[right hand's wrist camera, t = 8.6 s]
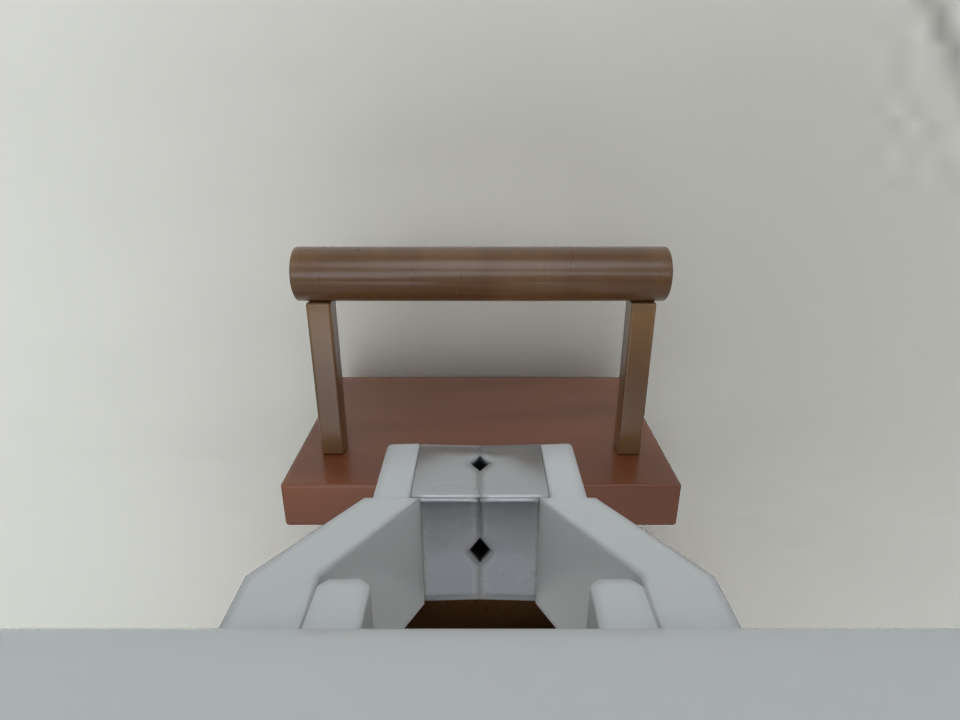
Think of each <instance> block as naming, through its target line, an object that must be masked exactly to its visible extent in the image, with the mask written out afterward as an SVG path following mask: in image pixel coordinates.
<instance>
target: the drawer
mask: <svg viewBox="0 0 960 720" xmlns="http://www.w3.org/2000/svg"><path fill="white" fill-rule="evenodd" d="M289 276H290V284H291V289H292V292H293V295H294V297H295V298H296V299H297V300H299V301H308V302H307V304H306V309H307V318H308V328H309V337H310V346H311V355H312V364H313V373H314V382H315V391H316V400H317V410H318V418H317V420H316V422H315V424H314V426H313V428H312V429H311V431H310V433H309V435H308V437H307V439H306V440H305V442H304V444H303V446H302V448H301V449H300V451H299V453H298V455H297V457H296V459H295V460H294V462H293V464H292V466H291V468H290V470H289V471H288V473H287V475H286V477H285V479H284V481H283V482H282V485H281V489H282V496H283V503H284V510H285V517H286V523H287V524H288V525H324V524H326V523H327V522H329V521H330V520H332V519H333V518H335V517H336V516H338V515H339V514H341V513H342V512H344V511H345V510H347V509H348V508H350V507H351V506H353V505H354V504H356V503H357V502H359V501H360V500H362V499H363V498H373V496H374V493H375V489H376V486H377V482H378V479H379V475H380V472H381V468H382V465H383V461H384V458H385V454H386V451H387V447H388V446H389V445H391V444H419V445H421V444H433V445H480V446H488V445H530V444H540V445H546V444H570V445H572V448H573V451H574V455H575V458H576V462H577V465H578V469H579V472H580V475H581V479H582V482H583V486H584V489H585V493H586V496H587V498H597V499H598V500H600V501H601V502H603V503H604V504H606V505H607V506H609V507H610V508H612V509H613V510H615V511H616V512H618V513H619V514H621V515H622V516H624V517H625V518H627V519H628V520H630V521H631V522H633V523H634V524H636V525H674V524H675V523H676V517H677V510H678V503H679V496H680V489H681V485H680V482H679V481H678V479H677V477H676V475H675V473H674V472H673V470H672V468H671V466H670V464H669V463H668V461H667V459H666V457H665V455H664V453H663V452H662V450H661V448H660V446H659V444H658V443H657V441H656V439H655V437H654V435H653V433H652V432H651V430H650V428H649V426H648V424H647V423H646V421H645V419H644V411H645V402H646V393H647V384H648V375H649V366H650V357H651V348H652V339H653V330H654V321H655V312H656V303H655V302H654V301H663V300H665V299H666V298H667V297H668V295H669V292H670V289H671V285H672V277H673V263H672V257H671V253H670V251H669V249H668V248H667V247H296V248H294V249H293V251H292V254H291V257H290V265H289ZM335 301H626V312H625V322H624V333H623V344H622V355H621V366H620V377H342V369H341V358H340V347H339V336H338V325H337V314H336V303H335ZM424 603H425V604H424V605H423V606H422V607H421V609H420V610H419V611H418V612H417V614H416V615H415V616H414V617H413V618H412V620H411V621H410V622H409V623H408V625H407V626H406V627H405V628H404V629H556V628H555V626H554V625H553V624H552V623H551V622H550V620H549V619H548V618H547V617H546V615H545V614H544V613H543V612H542V611H541V609H540V608H539V607H538V606H537V604H536V601H528V600H491V599H467V600H432V601H424Z"/></svg>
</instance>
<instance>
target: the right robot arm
mask: <svg viewBox="0 0 960 720" xmlns="http://www.w3.org/2000/svg"><path fill="white" fill-rule="evenodd" d="M467 599H491V600H528V601H536V604H537V606H538V607H539V608H540V609H541V611H542V612H543V613H544V614H545V615H546V617H547V618H548V619H549V620H550V622H551V623H552V624H553V625H554V626H555V628H556V629H404V628H405V627H406V626H407V625H408V623H409V622H410V621H411V620H412V618H413V617H414V616H415V615H416V614H417V612H418V611H419V610H420V609H421V607H422V606H423V605H424V604H425V603H424V601H432V600H467ZM0 720H960V629H741V627H740V625H739V623H738V621H737V619H736V617H735V615H734V613H733V611H732V609H731V607H730V605H729V603H728V601H727V600H726V598H725V596H724V594H723V592H722V590H721V588H720V586H719V584H718V582H717V580H716V578H715V577H714V576H712V575H711V574H709V573H708V572H706V571H705V570H703V569H702V568H700V567H699V566H697V565H696V564H694V563H693V562H691V561H690V560H688V559H687V558H685V557H684V556H682V555H681V554H679V553H678V552H676V551H675V550H673V549H672V548H670V547H669V546H667V545H666V544H664V543H663V542H661V541H660V540H658V539H657V538H655V537H654V536H652V535H651V534H649V533H648V532H646V531H645V530H643V529H642V528H640V527H639V526H637V525H636V524H634V523H633V522H631V521H630V520H628V519H627V518H625V517H624V516H622V515H621V514H619V513H618V512H616V511H615V510H613V509H612V508H610V507H609V506H607V505H606V504H604V503H603V502H601V501H600V500H598V499H597V498H587V496H586V493H585V489H584V486H583V482H582V479H581V475H580V472H579V469H578V465H577V462H576V458H575V455H574V451H573V448H572V445H570V444H546V445H540V444H530V445H488V446H480V445H433V444H421V445H419V444H391V445H389V446H388V447H387V451H386V454H385V458H384V461H383V465H382V468H381V472H380V475H379V479H378V482H377V486H376V489H375V493H374V496H373V498H363V499H362V500H360V501H359V502H357V503H356V504H354V505H353V506H351V507H350V508H348V509H347V510H345V511H344V512H342V513H341V514H339V515H338V516H336V517H335V518H333V519H332V520H330V521H329V522H327V523H326V524H324V525H323V526H321V527H320V528H318V529H317V530H315V531H314V532H312V533H311V534H309V535H308V536H306V537H305V538H303V539H302V540H300V541H299V542H297V543H295V544H294V545H292V546H291V547H289V548H288V549H286V550H285V551H283V552H282V553H280V554H279V555H277V556H276V557H274V558H273V559H271V560H270V561H268V562H267V563H265V564H264V565H262V566H261V567H259V568H258V569H256V570H255V571H253V572H252V573H250V574H249V575H247V576H246V577H245V579H244V581H243V583H242V585H241V586H240V588H239V590H238V592H237V594H236V596H235V598H234V600H233V602H232V604H231V606H230V608H229V610H228V611H227V613H226V615H225V617H224V619H223V621H222V623H221V625H220V627H219V629H0Z"/></svg>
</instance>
